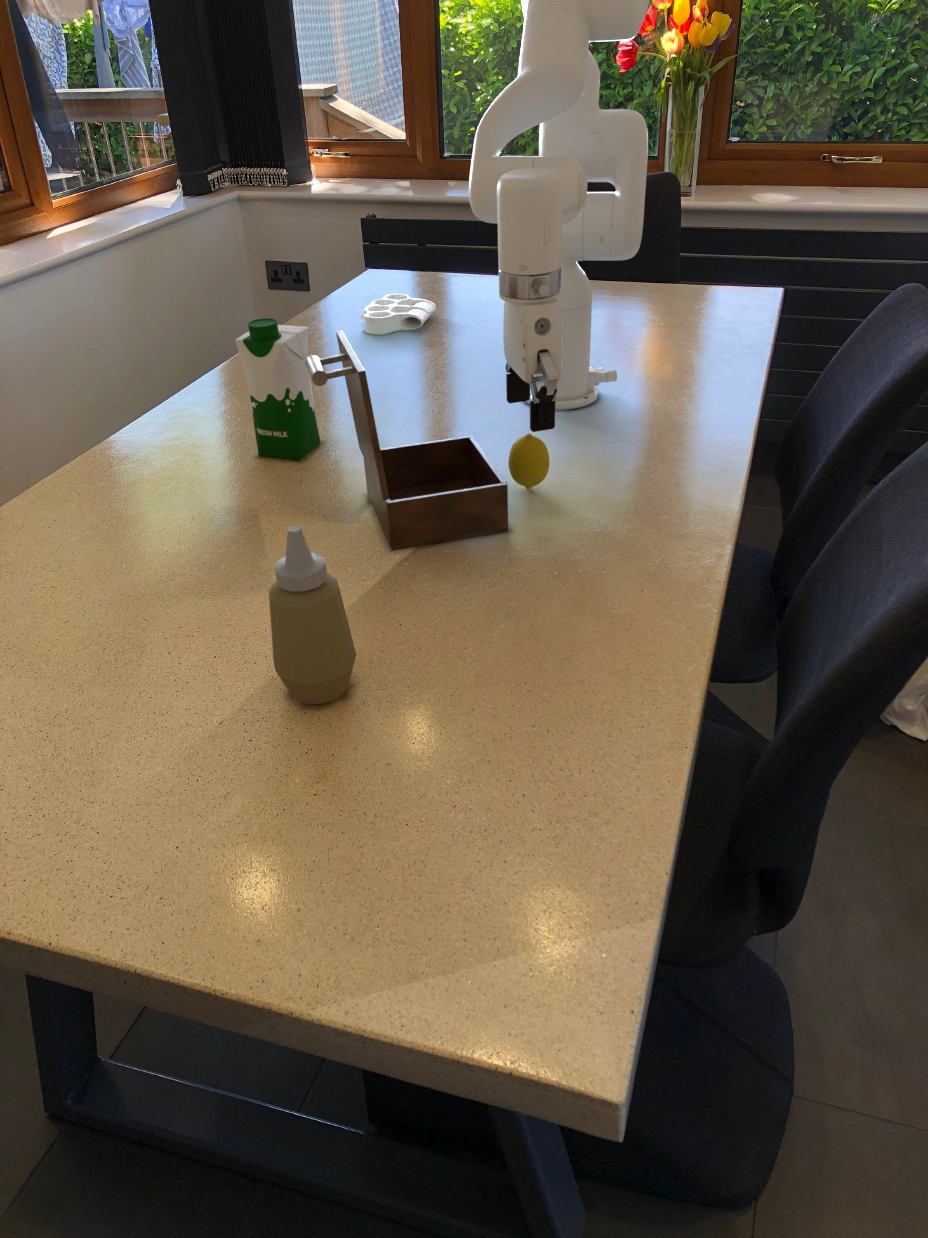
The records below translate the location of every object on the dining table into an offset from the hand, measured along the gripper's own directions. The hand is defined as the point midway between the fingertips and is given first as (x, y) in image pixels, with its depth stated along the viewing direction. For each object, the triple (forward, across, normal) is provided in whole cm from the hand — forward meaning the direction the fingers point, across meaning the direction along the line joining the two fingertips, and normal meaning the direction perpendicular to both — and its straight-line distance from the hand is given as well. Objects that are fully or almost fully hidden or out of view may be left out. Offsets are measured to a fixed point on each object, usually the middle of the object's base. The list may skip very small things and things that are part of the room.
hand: (530, 414), depth 122 cm
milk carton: (+11, +24, +30) cm, 40 cm away
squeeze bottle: (+9, -36, +34) cm, 51 cm away
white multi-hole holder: (+13, +83, +2) cm, 84 cm away
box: (+10, -3, +14) cm, 18 cm away
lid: (-5, -3, +22) cm, 23 cm away
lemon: (+11, -1, 0) cm, 11 cm away
